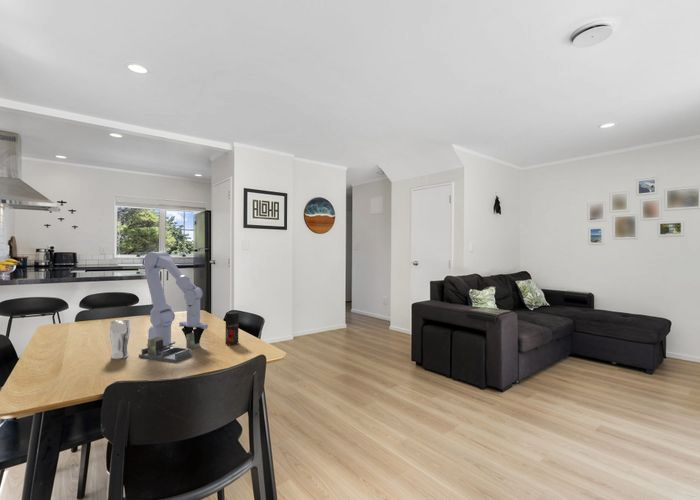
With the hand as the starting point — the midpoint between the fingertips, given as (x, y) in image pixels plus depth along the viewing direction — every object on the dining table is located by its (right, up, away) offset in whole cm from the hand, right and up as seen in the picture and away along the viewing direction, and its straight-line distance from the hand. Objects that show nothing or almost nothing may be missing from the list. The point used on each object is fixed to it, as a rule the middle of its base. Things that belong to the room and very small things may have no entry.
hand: (193, 342), depth 161 cm
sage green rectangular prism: (0, -2, 0) cm, 2 cm away
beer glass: (-23, -2, -17) cm, 29 cm away
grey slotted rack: (-5, -2, -15) cm, 16 cm away
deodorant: (+16, -2, +5) cm, 17 cm away
